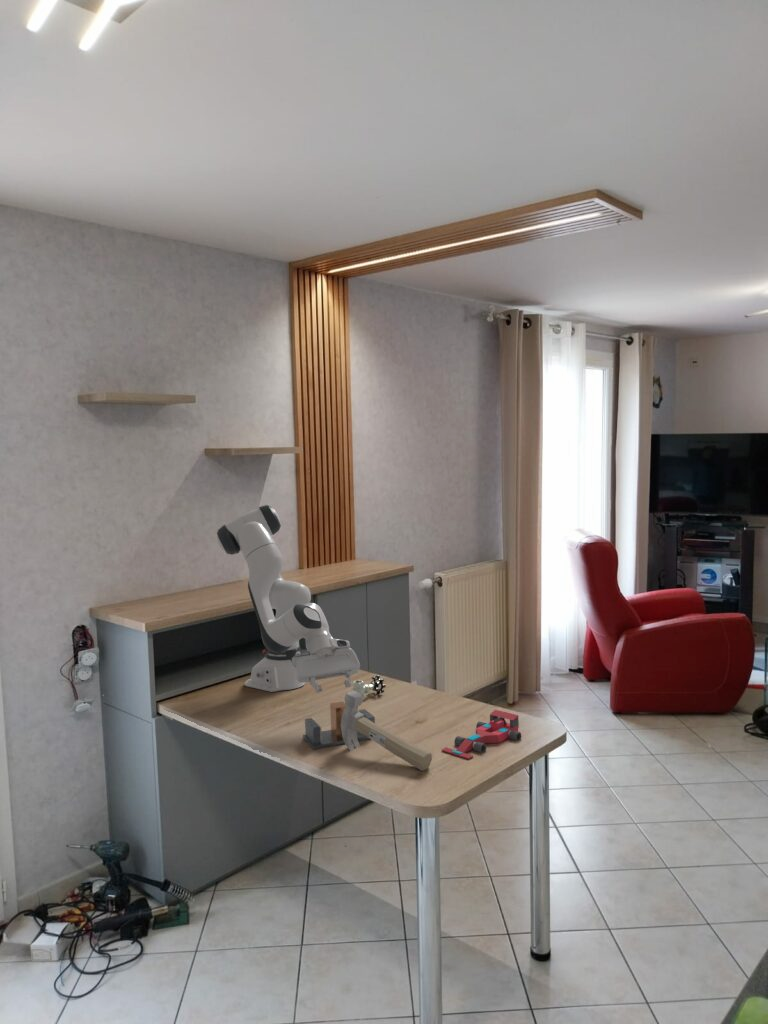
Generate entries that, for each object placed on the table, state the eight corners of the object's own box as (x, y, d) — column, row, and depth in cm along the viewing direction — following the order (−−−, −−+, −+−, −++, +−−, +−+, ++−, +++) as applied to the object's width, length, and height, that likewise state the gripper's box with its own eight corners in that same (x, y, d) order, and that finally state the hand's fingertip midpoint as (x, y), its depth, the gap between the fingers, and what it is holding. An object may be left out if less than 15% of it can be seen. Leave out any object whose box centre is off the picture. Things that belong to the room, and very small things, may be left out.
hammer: (436, 733, 201) (354, 688, 220) (426, 738, 198) (343, 693, 216) (427, 786, 205) (347, 738, 223) (416, 792, 201) (336, 743, 220)
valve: (361, 704, 258) (386, 695, 266) (360, 684, 257) (385, 676, 266) (347, 700, 263) (372, 691, 271) (347, 681, 262) (372, 673, 271)
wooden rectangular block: (331, 732, 228) (330, 703, 228) (343, 730, 230) (342, 701, 229) (336, 738, 224) (335, 708, 223) (349, 736, 225) (348, 706, 225)
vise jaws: (303, 738, 228) (302, 718, 227) (365, 726, 235) (365, 707, 235) (313, 749, 219) (312, 729, 218) (378, 737, 226) (377, 717, 226)
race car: (434, 730, 215) (487, 707, 233) (434, 751, 216) (487, 726, 234) (474, 742, 206) (526, 717, 224) (475, 764, 206) (527, 737, 224)
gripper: (291, 649, 235) (303, 689, 227) (353, 640, 243) (366, 678, 235) (288, 660, 240) (299, 699, 232) (349, 650, 248) (362, 688, 240)
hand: (334, 689), depth 233 cm, fingers open, 8 cm apart
